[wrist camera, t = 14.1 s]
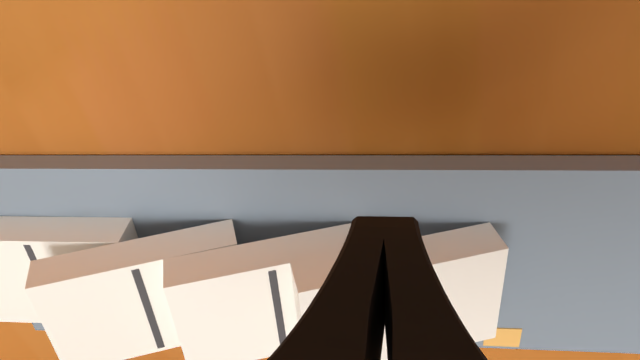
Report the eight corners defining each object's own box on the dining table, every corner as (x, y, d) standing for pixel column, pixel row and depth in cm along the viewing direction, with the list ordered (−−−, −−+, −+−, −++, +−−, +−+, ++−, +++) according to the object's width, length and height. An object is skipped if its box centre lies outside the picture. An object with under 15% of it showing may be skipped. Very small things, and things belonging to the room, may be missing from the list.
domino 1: (237, 243, 24) (24, 289, 23) (253, 329, 27) (66, 373, 26) (231, 218, 25) (30, 260, 24) (248, 302, 28) (69, 344, 27)
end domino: (117, 242, 25) (-65, 240, 26) (146, 326, 27) (-18, 321, 28) (131, 217, 26) (-42, 215, 27) (158, 299, 29) (0, 295, 30)
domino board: (721, 155, 22) (734, 172, 21) (654, 336, 28) (661, 355, 27) (-33, 155, 26) (-48, 169, 25) (44, 315, 32) (34, 331, 31)
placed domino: (509, 248, 23) (298, 293, 22) (495, 337, 26) (309, 381, 24) (489, 221, 24) (290, 262, 23) (478, 309, 27) (301, 349, 26)
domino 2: (374, 246, 23) (163, 288, 22) (376, 333, 26) (189, 374, 25) (363, 220, 25) (163, 258, 24) (366, 306, 28) (188, 343, 27)
